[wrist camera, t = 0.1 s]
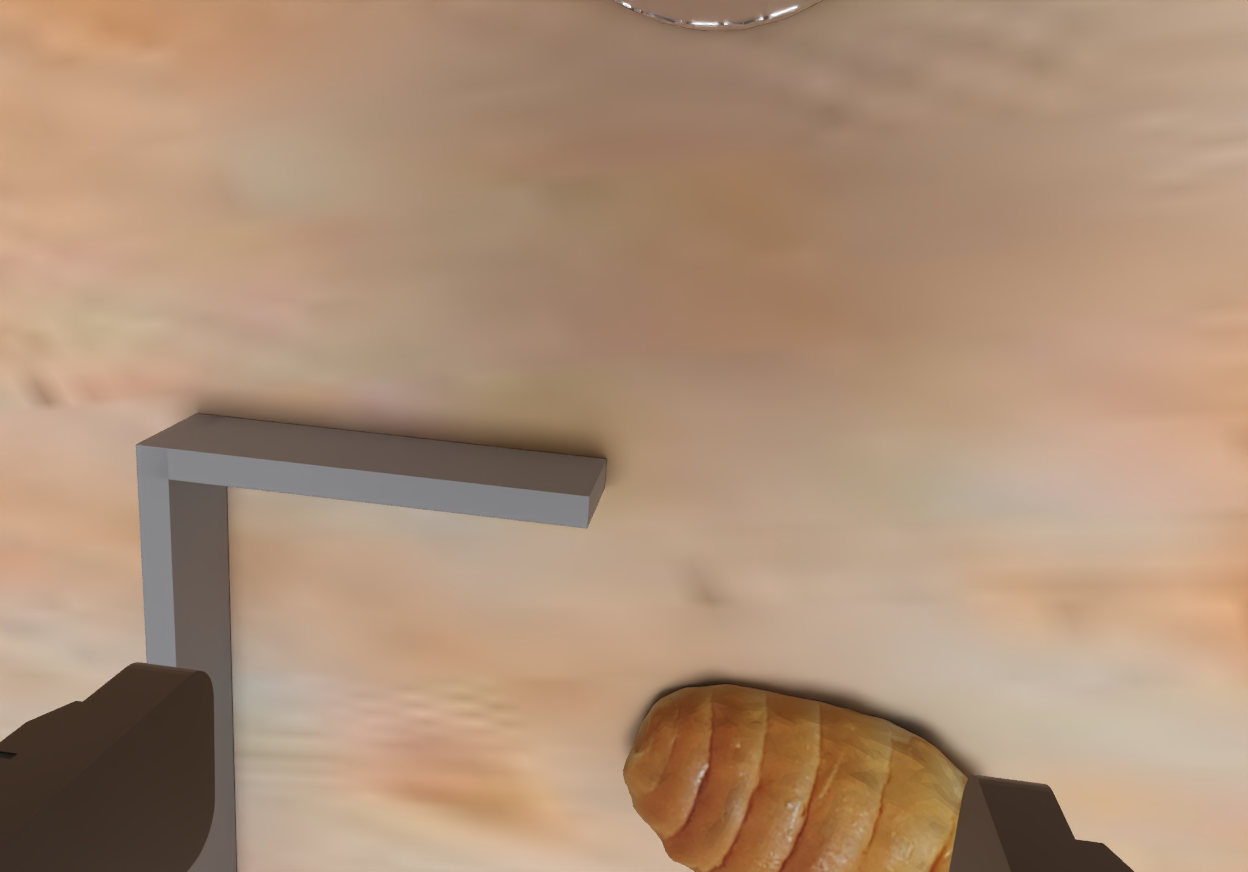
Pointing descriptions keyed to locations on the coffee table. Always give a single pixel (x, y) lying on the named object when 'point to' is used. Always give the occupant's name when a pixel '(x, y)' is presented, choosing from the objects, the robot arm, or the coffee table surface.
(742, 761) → the pastry
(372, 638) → the coffee table surface
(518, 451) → the box
